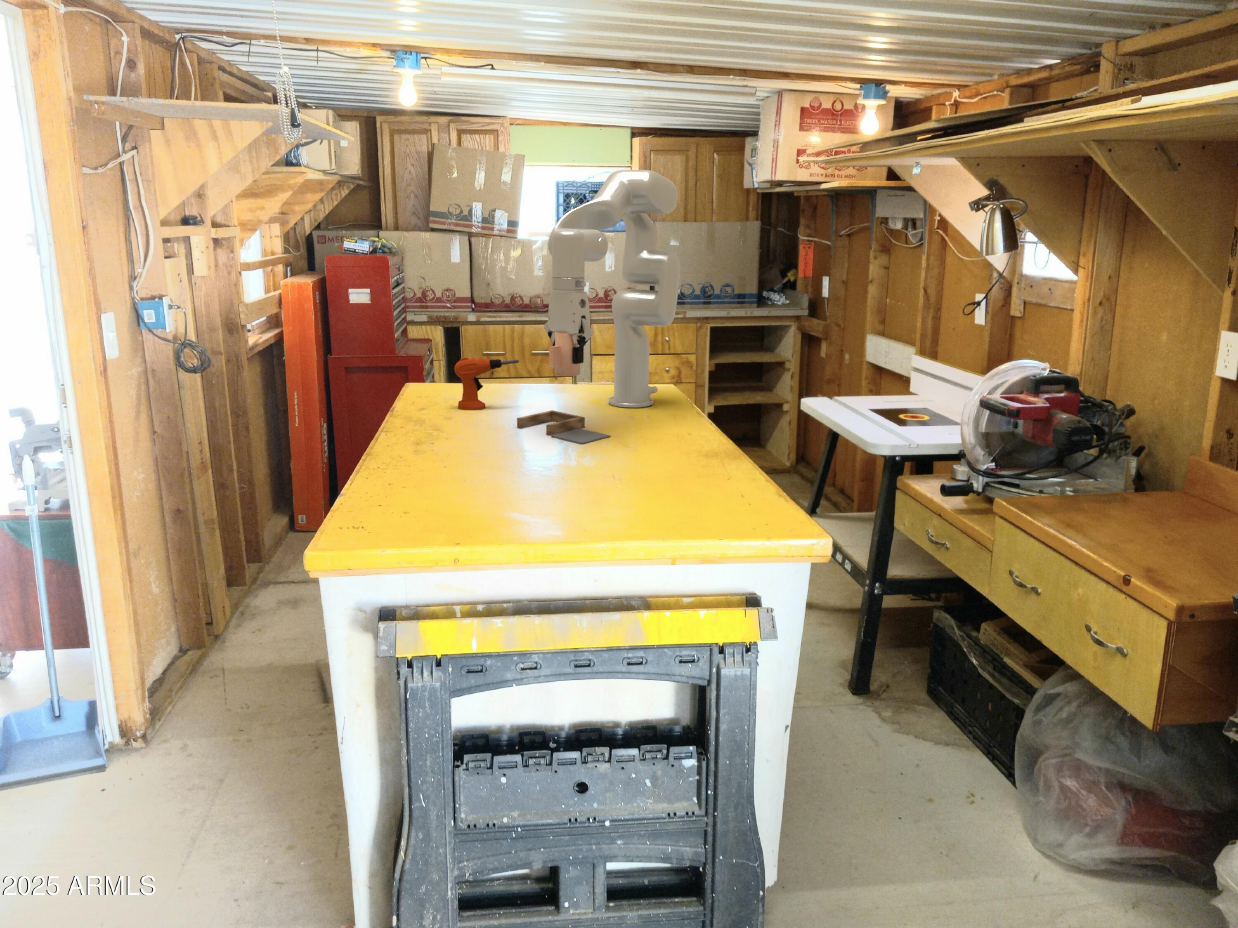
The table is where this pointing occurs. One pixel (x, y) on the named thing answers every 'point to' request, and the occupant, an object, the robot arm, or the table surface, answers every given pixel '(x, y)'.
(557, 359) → the pink mug
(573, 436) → the mat
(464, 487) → the table surface
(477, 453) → the table surface
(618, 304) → the robot arm
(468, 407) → the toy drill
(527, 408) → the table surface
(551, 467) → the table surface
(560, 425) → the brown wooden u-shaped piece
